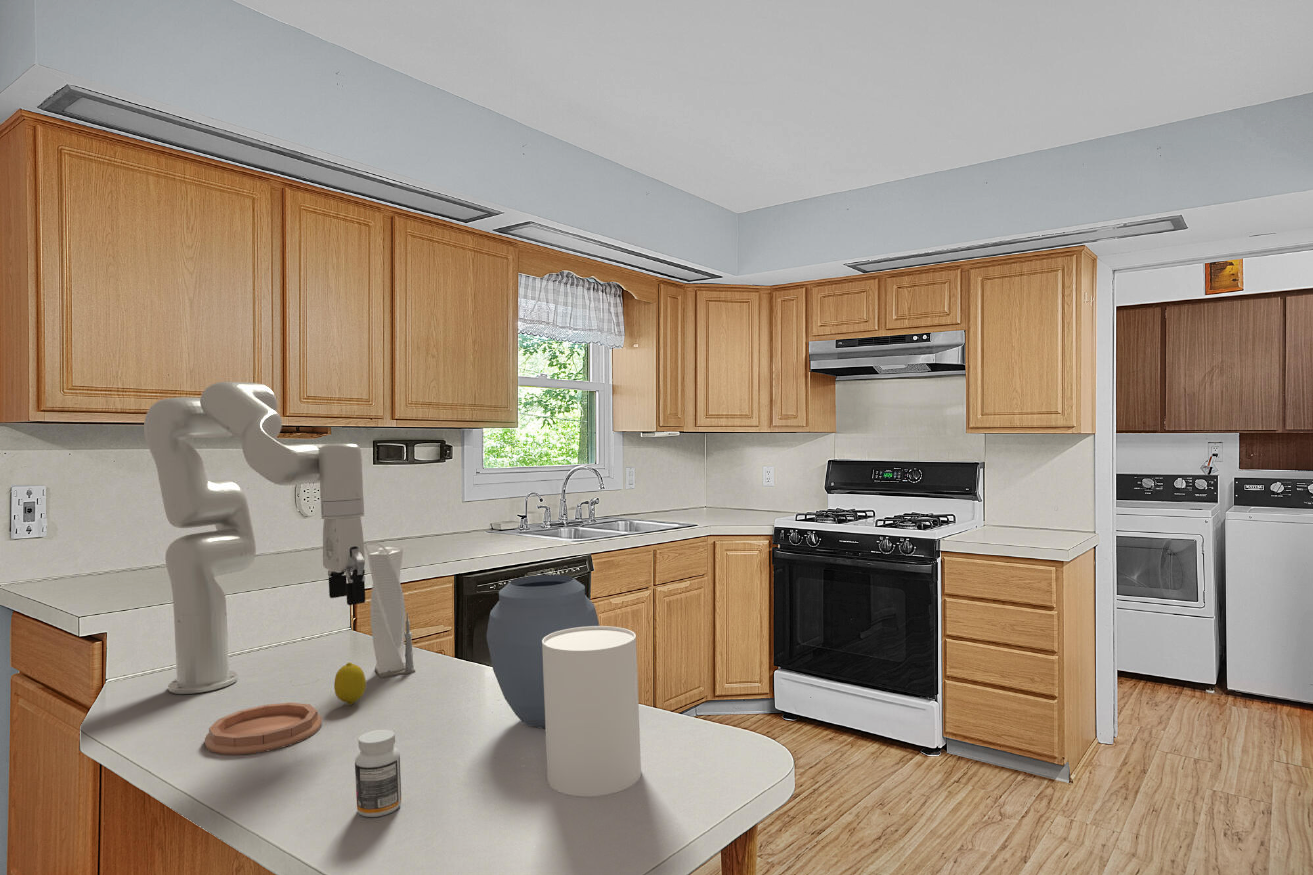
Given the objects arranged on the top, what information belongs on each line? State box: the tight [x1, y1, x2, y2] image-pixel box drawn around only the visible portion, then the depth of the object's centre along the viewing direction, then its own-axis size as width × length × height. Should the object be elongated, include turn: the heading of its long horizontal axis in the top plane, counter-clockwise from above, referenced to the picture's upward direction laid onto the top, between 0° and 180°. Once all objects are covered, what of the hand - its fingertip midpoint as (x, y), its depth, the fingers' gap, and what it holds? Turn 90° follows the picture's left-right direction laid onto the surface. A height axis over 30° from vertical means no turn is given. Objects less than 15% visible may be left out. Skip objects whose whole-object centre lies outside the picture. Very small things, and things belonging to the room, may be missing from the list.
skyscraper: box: [364, 542, 416, 679], centre depth 173 cm, size 8×8×28 cm
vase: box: [485, 574, 601, 729], centre depth 139 cm, size 20×20×24 cm
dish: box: [204, 702, 323, 756], centre depth 138 cm, size 18×18×2 cm
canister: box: [542, 625, 642, 797], centre depth 116 cm, size 14×14×20 cm
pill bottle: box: [354, 729, 402, 818], centre depth 108 cm, size 6×6×10 cm
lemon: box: [333, 662, 367, 706], centre depth 152 cm, size 6×6×8 cm
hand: (347, 600), depth 151 cm, fingers open, 9 cm apart
